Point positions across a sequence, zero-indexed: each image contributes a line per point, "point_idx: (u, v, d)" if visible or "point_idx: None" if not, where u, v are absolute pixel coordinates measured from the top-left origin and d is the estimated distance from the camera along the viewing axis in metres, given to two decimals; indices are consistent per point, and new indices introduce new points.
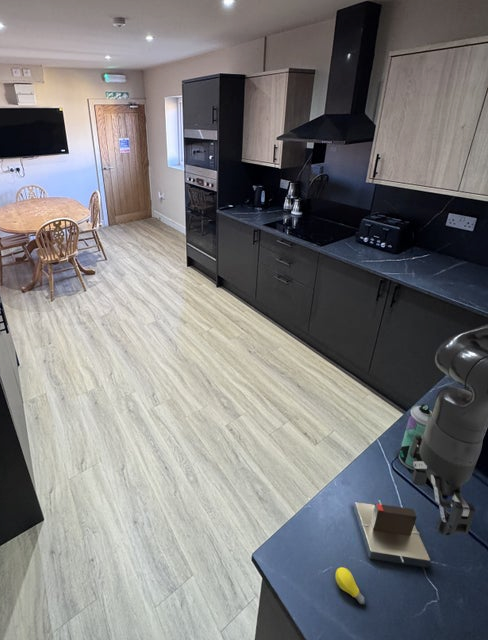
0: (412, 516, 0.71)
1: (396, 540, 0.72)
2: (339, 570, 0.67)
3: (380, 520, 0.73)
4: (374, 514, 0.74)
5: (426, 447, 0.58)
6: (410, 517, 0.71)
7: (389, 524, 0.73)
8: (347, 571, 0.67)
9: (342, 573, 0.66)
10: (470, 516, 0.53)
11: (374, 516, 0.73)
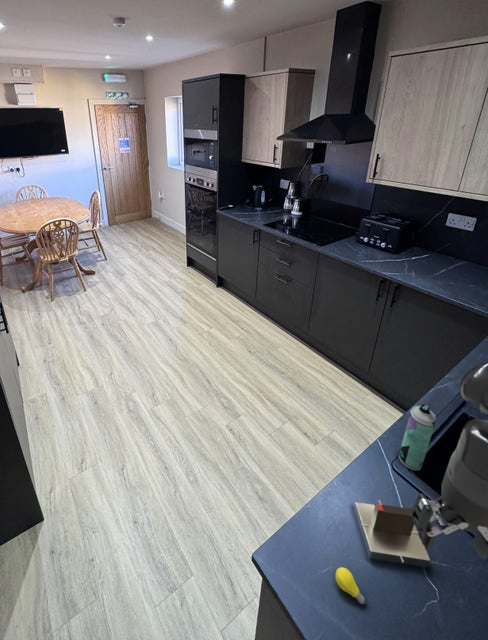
0: None
1: (396, 540, 0.72)
2: (339, 570, 0.67)
3: (380, 520, 0.73)
4: (374, 514, 0.74)
5: None
6: (410, 517, 0.71)
7: (389, 524, 0.73)
8: (347, 571, 0.67)
9: (342, 573, 0.66)
10: (422, 512, 0.54)
11: (374, 516, 0.73)
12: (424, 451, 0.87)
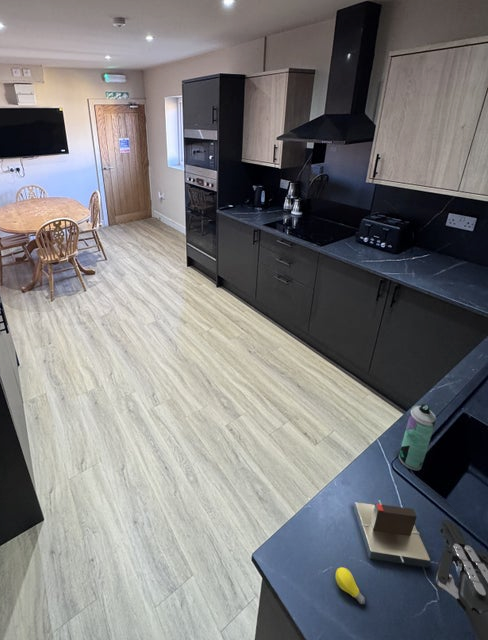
0: (412, 516, 0.71)
1: (396, 540, 0.72)
2: (339, 570, 0.67)
3: (380, 520, 0.73)
4: (374, 514, 0.74)
5: None
6: (410, 517, 0.71)
7: (389, 524, 0.73)
8: (347, 571, 0.67)
9: (342, 573, 0.66)
10: None
11: (374, 516, 0.73)
12: (424, 451, 0.87)
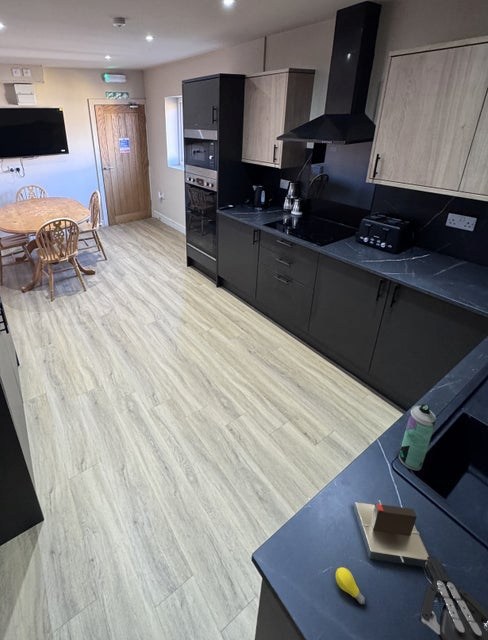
0: (412, 516, 0.71)
1: (396, 540, 0.72)
2: (339, 570, 0.67)
3: (380, 520, 0.73)
4: (374, 514, 0.74)
5: None
6: (410, 517, 0.71)
7: (389, 524, 0.73)
8: (347, 571, 0.67)
9: (342, 573, 0.66)
10: (421, 610, 0.57)
11: (374, 516, 0.73)
12: (424, 451, 0.87)
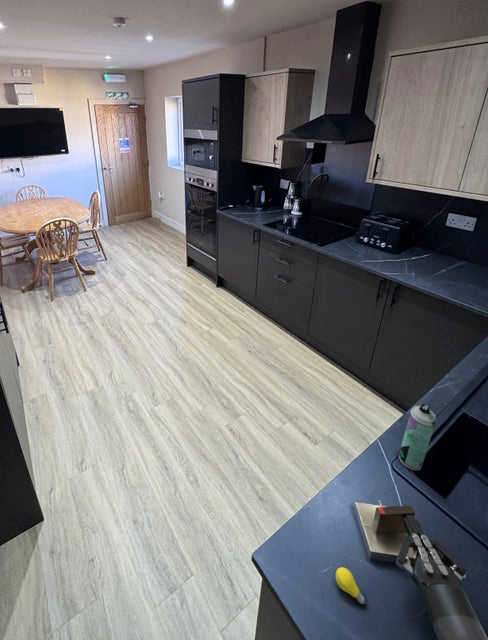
0: (411, 513, 0.71)
1: (396, 540, 0.72)
2: (339, 570, 0.67)
3: (382, 523, 0.72)
4: (376, 518, 0.73)
5: (458, 609, 0.55)
6: (409, 514, 0.72)
7: (390, 525, 0.72)
8: (347, 571, 0.67)
9: (342, 573, 0.66)
10: None
11: (376, 520, 0.73)
12: (424, 451, 0.87)
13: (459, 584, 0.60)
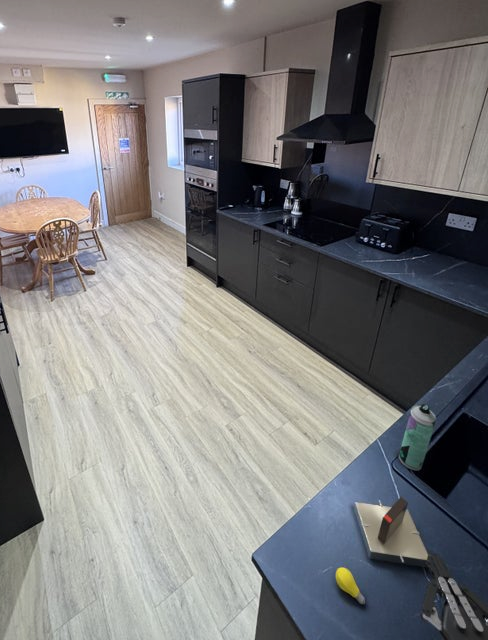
0: (406, 505, 0.73)
1: (396, 540, 0.72)
2: (339, 570, 0.67)
3: (390, 530, 0.71)
4: (383, 528, 0.71)
5: None
6: (405, 507, 0.73)
7: (394, 526, 0.72)
8: (347, 571, 0.67)
9: (342, 573, 0.66)
10: (422, 606, 0.57)
11: (384, 530, 0.71)
12: (424, 451, 0.87)
13: None
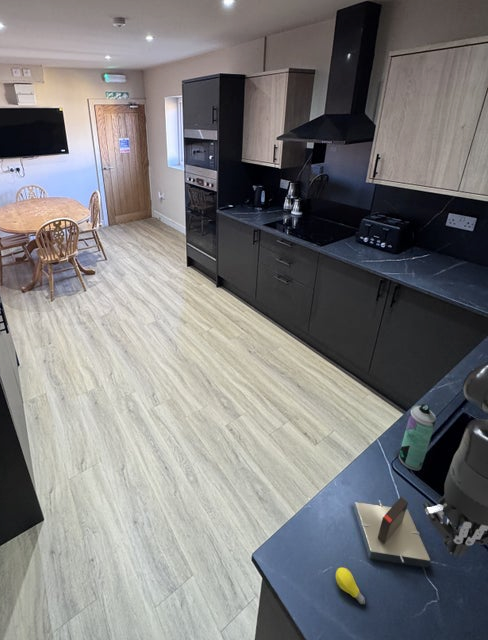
0: (406, 505, 0.73)
1: (396, 540, 0.72)
2: (339, 570, 0.67)
3: (390, 530, 0.71)
4: (383, 528, 0.71)
5: None
6: (405, 507, 0.73)
7: (394, 526, 0.72)
8: (347, 571, 0.67)
9: (342, 573, 0.66)
10: (432, 522, 0.55)
11: (384, 530, 0.71)
12: (424, 451, 0.87)
13: None
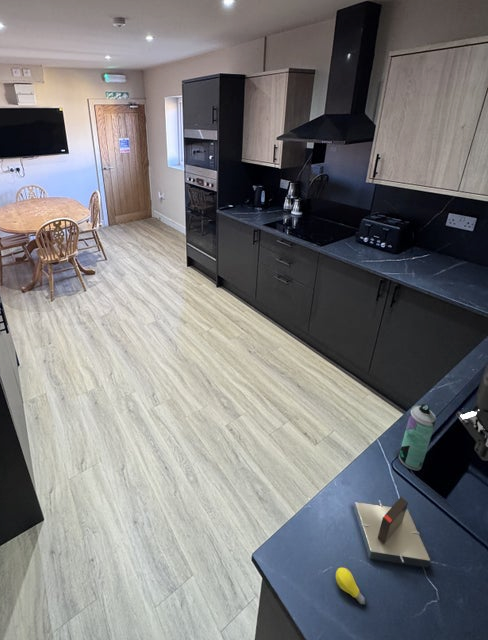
0: (406, 505, 0.73)
1: (396, 540, 0.72)
2: (339, 570, 0.67)
3: (390, 530, 0.71)
4: (383, 528, 0.71)
5: None
6: (405, 507, 0.73)
7: (394, 526, 0.72)
8: (347, 571, 0.67)
9: (342, 573, 0.66)
10: (465, 427, 0.61)
11: (384, 530, 0.71)
12: (424, 451, 0.87)
13: None
